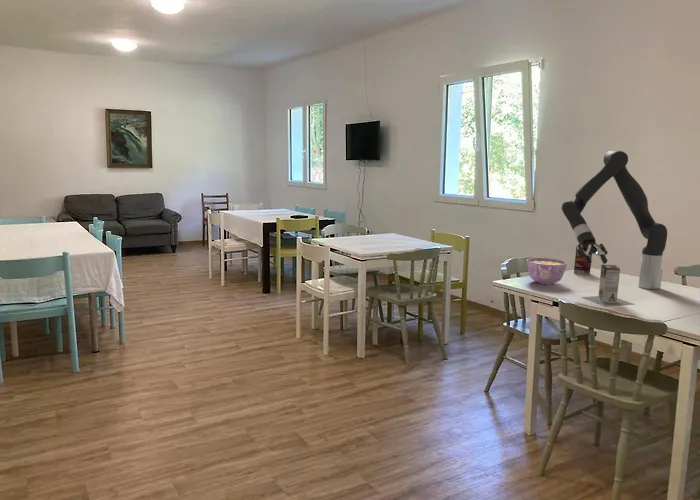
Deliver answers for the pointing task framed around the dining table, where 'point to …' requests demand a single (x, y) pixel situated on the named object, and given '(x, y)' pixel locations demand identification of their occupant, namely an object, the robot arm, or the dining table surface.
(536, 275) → the bowl of food
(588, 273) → the supplement box
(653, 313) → the dining table surface
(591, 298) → the mat
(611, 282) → the coffee box
